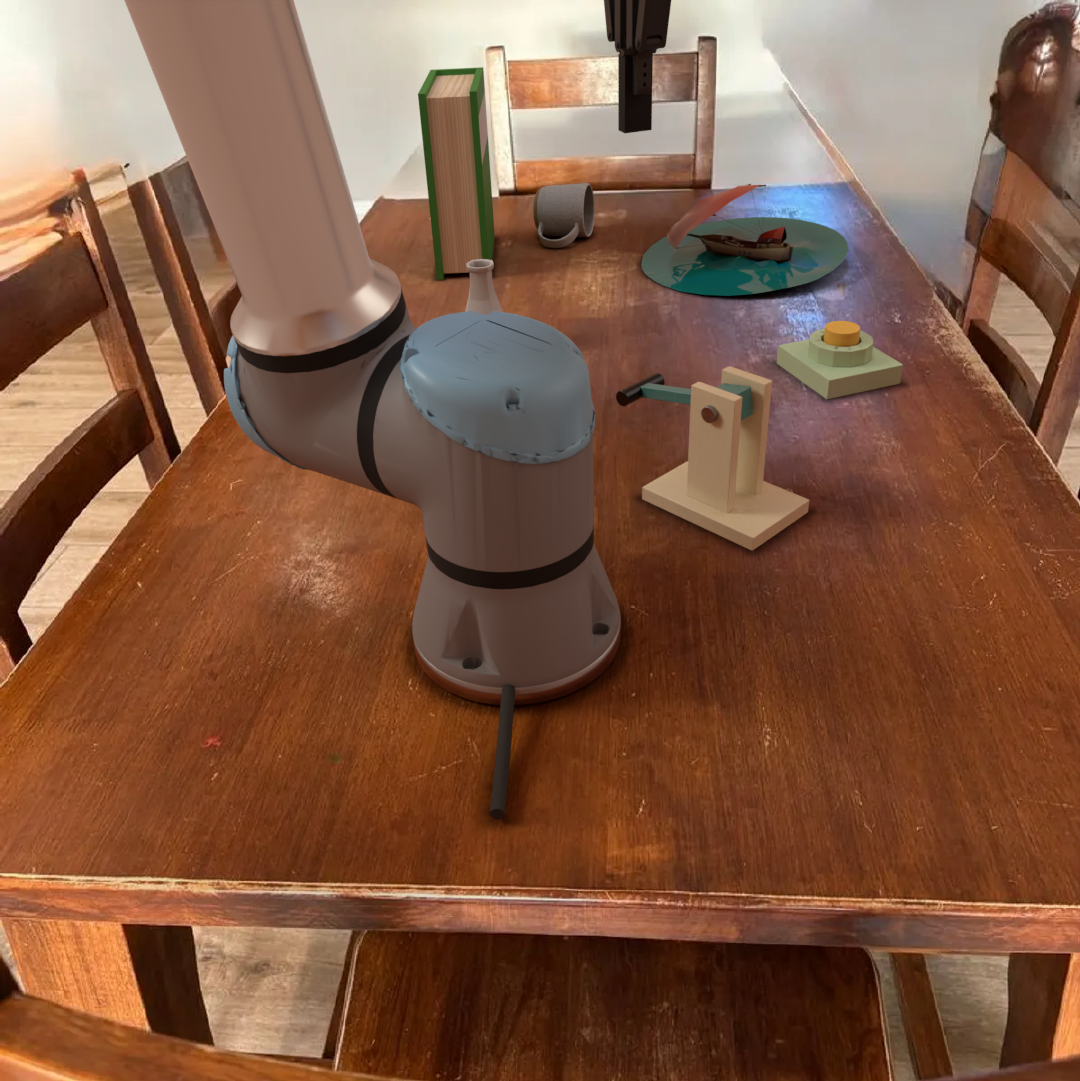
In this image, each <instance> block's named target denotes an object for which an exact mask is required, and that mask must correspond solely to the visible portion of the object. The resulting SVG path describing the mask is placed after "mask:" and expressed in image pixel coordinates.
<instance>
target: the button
mask: <svg viewBox="0 0 1080 1081" xmlns="http://www.w3.org/2000/svg"><path fill="white" fill-rule="evenodd" d="M824 328H825V333H824V341H823V342H825V343H826V344H828V345H832V346H836V347H850V346H855V345H858V343H859V336H860V331H861V326H860V325H859V324H857V323H855V322H852V321H849V320H834V321H830V322H828V323H826V324H825V326H824Z"/></svg>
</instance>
